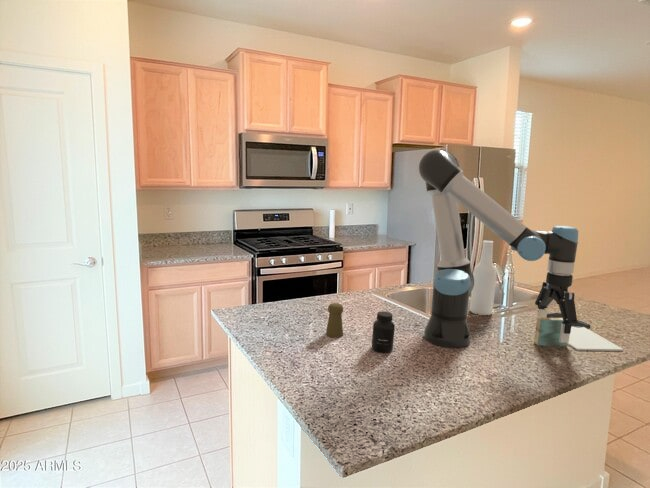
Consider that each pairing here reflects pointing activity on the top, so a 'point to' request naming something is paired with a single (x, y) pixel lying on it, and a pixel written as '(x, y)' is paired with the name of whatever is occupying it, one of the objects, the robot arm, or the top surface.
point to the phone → (578, 325)
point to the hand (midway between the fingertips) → (551, 334)
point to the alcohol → (484, 282)
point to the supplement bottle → (383, 333)
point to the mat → (589, 341)
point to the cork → (335, 321)
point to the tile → (548, 331)
